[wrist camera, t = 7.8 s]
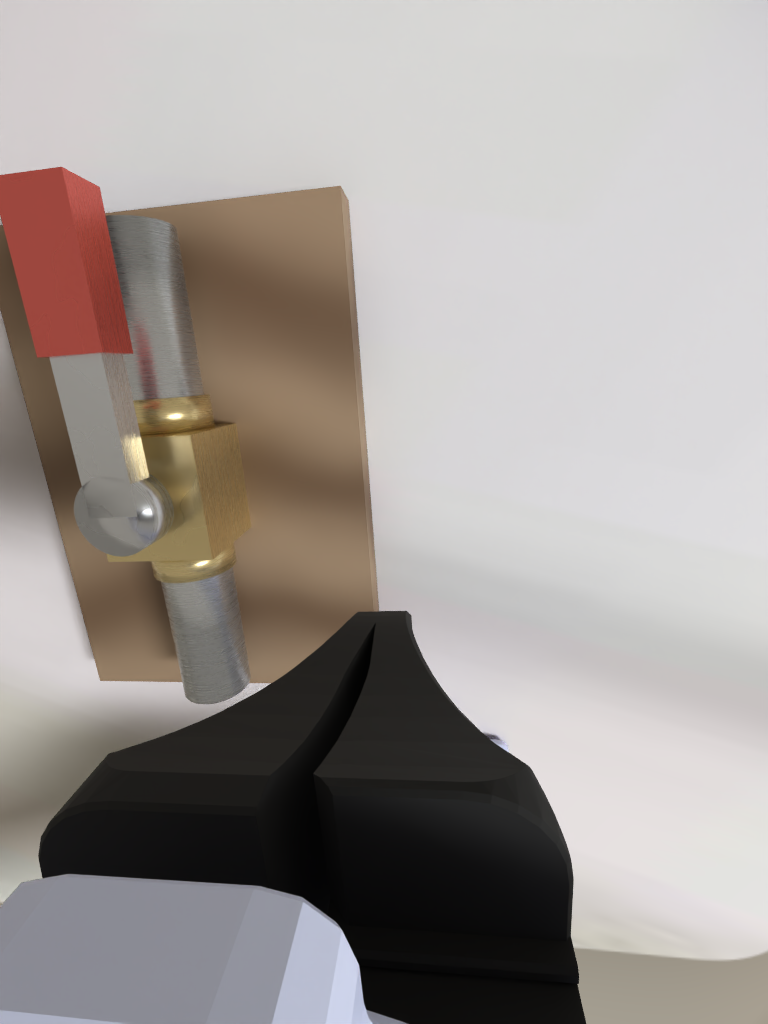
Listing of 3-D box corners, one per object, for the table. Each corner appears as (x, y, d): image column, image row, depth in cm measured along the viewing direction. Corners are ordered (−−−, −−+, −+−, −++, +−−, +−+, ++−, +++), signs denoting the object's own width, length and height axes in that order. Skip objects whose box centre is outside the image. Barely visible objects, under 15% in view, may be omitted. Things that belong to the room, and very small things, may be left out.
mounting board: (382, 665, 23) (379, 684, 22) (119, 662, 25) (100, 680, 24) (348, 200, 18) (340, 185, 16) (12, 238, 20) (-22, 228, 18)
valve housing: (273, 662, 22) (240, 720, 19) (193, 661, 23) (146, 718, 19) (209, 234, 17) (147, 198, 14) (109, 245, 18) (23, 213, 14)
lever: (183, 540, 16) (157, 558, 15) (113, 542, 17) (80, 559, 15) (114, 188, 13) (72, 165, 12) (30, 199, 14) (-21, 177, 12)
